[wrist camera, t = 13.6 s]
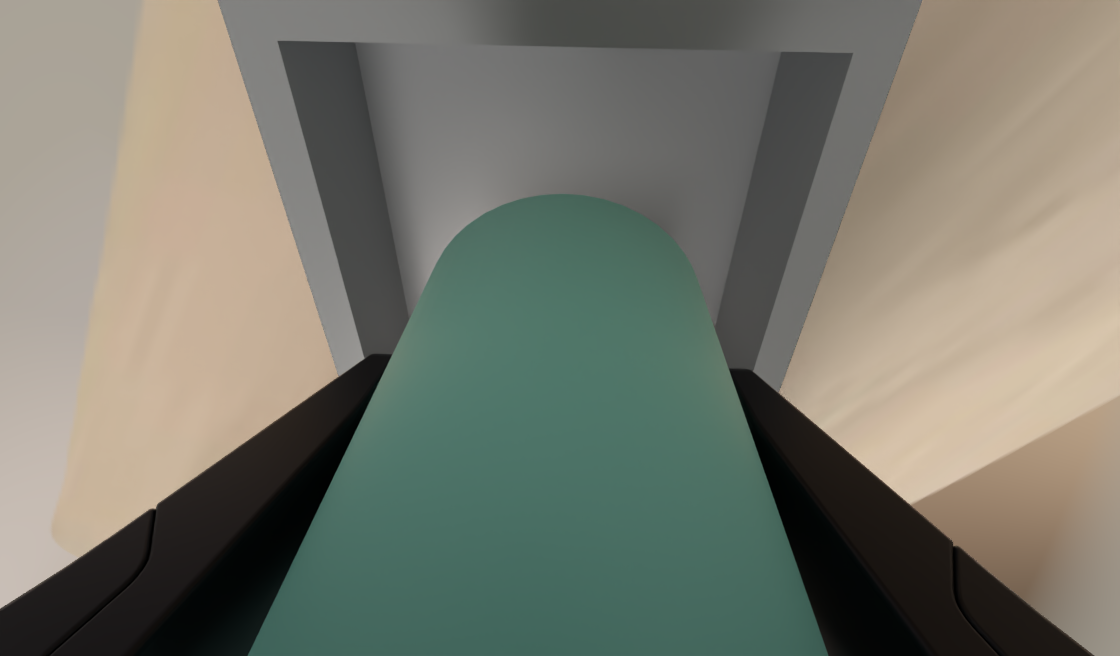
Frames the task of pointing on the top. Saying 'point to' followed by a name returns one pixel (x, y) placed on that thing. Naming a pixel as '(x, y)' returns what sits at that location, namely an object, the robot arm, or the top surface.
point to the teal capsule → (550, 467)
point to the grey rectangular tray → (568, 138)
